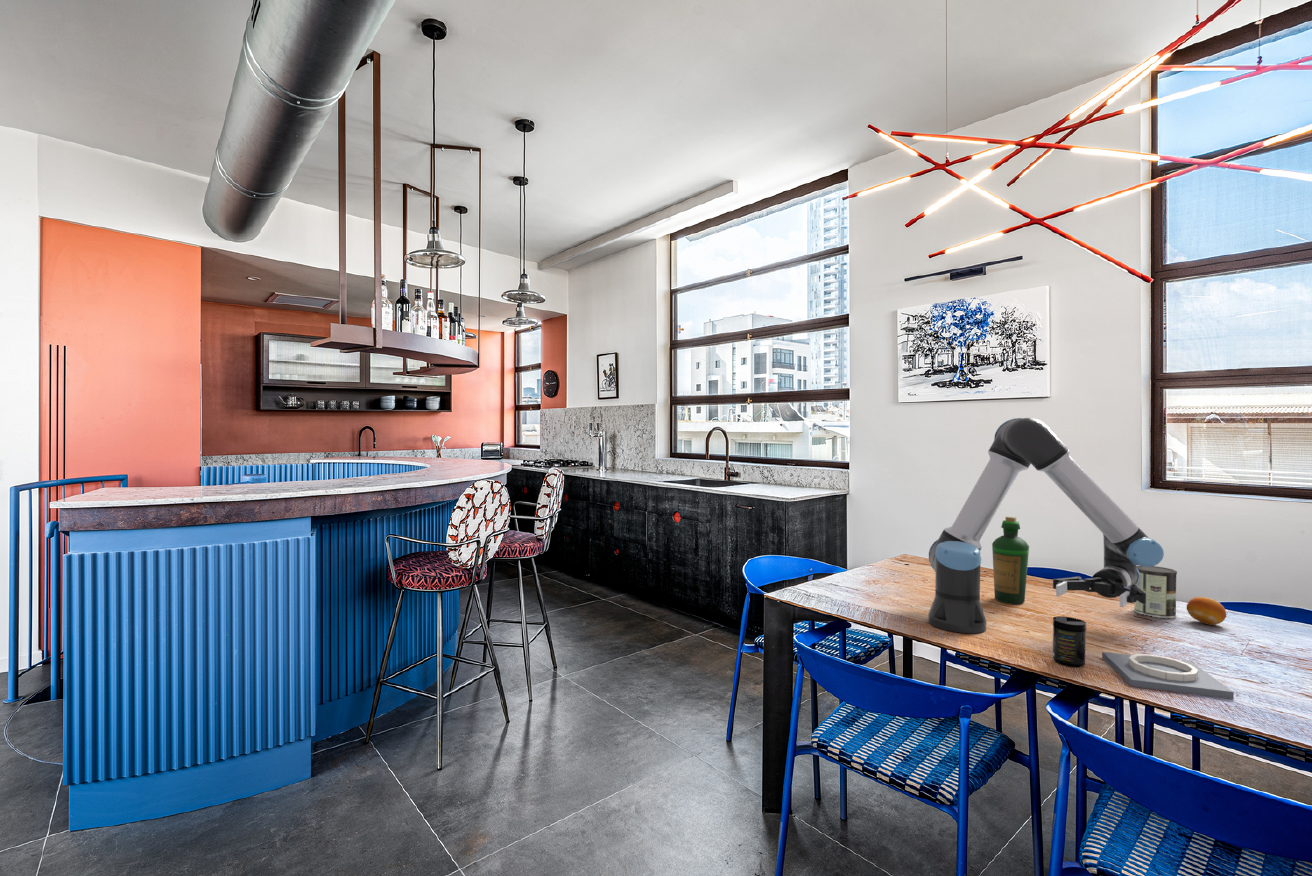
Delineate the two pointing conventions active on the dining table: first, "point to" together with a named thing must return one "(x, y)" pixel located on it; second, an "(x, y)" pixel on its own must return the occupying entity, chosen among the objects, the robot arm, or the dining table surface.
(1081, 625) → the supplement container
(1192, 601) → the fruit
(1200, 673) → the ring board
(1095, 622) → the dining table surface
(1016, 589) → the bottle
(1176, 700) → the dining table surface
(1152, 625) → the dining table surface
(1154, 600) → the coffee can
